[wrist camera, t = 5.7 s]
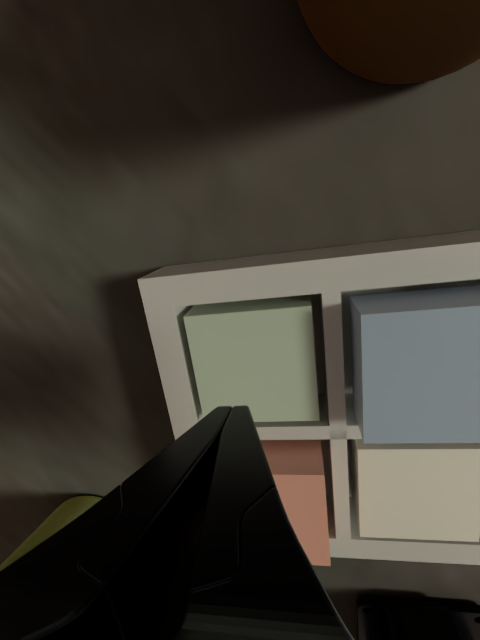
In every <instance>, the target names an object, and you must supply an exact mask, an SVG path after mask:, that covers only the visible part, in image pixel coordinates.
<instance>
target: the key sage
mask: <svg viewBox="0 0 480 640" xmlns="http://www.w3.org/2000/svg"><path fill="white" fill-rule="evenodd" d="M183 319H184V324H185V329H186V334H187V339H188V344H189V349H190V354H191V359H192V364H193V369H194V374H195V379H196V384H197V389H198V394H199V399H200V404H201V409H202V414H203V418H204V417H205V416H206V415H207V414H209V413H210V412H211V411H212V410H214V409H215V408H216V407H218V406H232V407H234V406H243V405H247V406H248V407H249V409H250V412H251V415H252V418H253V420H254V422H283V421H320V419H319V404H318V390H317V376H316V362H315V347H314V333H313V319H312V305H311V300H310V295H299V296H288V297H277V298H266V299H255V300H244V301H233V302H222V303H211V304H200V305H194V306H193V307H192V308H191V309H190V310H189V311H188V312H187V313H186V314H185V315H184V317H183Z"/></svg>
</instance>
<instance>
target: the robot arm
mask: <svg viewBox="0 0 480 640" xmlns="http://www.w3.org/2000/svg"><path fill="white" fill-rule="evenodd" d="M357 628H358V640H480V605H473V604H459V603H446V602H433V601H420V600H406V599H393V598H380V597H367V596H365V597H360V598H358V599H357ZM0 640H354V638H353V637H352V635H351V634H350V632H349V631H348V629H347V628H346V626H345V624H344V623H343V621H342V619H341V618H340V616H339V614H338V612H337V611H336V609H335V607H334V605H333V603H332V602H331V600H330V598H329V596H328V594H327V592H326V590H325V589H324V587H323V585H322V583H321V581H320V579H319V577H318V576H317V574H316V572H315V570H314V568H313V566H312V564H311V562H310V561H309V559H308V557H307V555H306V553H305V551H304V549H303V548H302V546H301V544H300V542H299V540H298V538H297V536H296V534H295V532H294V529H293V527H292V525H291V523H290V521H289V519H288V516H287V514H286V511H285V509H284V506H283V504H282V501H281V498H280V495H279V492H278V489H277V488H276V484H275V481H274V478H273V475H272V473H271V470H270V467H269V464H268V461H267V458H266V455H265V452H264V449H263V446H262V444H261V441H260V438H259V435H258V432H257V429H256V426H255V423H254V420H253V418H252V415H251V412H250V409H249V407H248V406H247V405H243V406H234V407H232V406H218V407H216V408H215V409H214V410H212V411H211V412H210V413H209V414H207V415H206V416H205V417H204V418H202V419H201V420H200V421H199V422H197V423H196V424H195V425H194V426H192V427H191V428H190V429H189V430H187V431H186V432H185V433H184V434H182V435H181V436H180V437H179V438H177V439H176V440H175V441H174V442H172V443H171V444H170V445H169V446H167V447H166V448H165V449H164V450H162V451H161V452H160V453H159V454H157V455H156V456H155V457H154V458H152V459H151V460H150V461H149V462H147V463H146V464H145V465H144V466H142V467H141V468H140V469H139V470H137V471H136V472H135V473H134V474H132V475H131V476H130V477H129V478H127V479H126V480H125V481H124V482H122V486H121V485H118V486H117V487H116V488H115V489H113V490H112V491H111V492H110V493H108V494H107V495H106V496H105V497H103V498H102V499H101V500H99V501H98V502H97V503H96V504H94V505H93V506H92V507H90V508H89V509H88V510H86V511H85V512H84V513H82V514H81V515H80V516H78V517H77V518H75V519H74V520H73V521H71V522H70V523H69V524H67V525H66V526H64V527H63V528H62V529H60V530H59V531H57V532H56V533H54V534H53V535H52V536H50V537H49V538H47V539H46V540H44V541H43V542H41V543H40V544H39V545H37V546H36V547H34V548H33V549H31V550H30V551H28V552H27V553H26V554H24V555H23V556H21V557H20V558H18V559H17V560H15V561H14V562H13V563H11V564H10V565H8V566H7V567H5V568H4V569H2V570H1V571H0Z"/></svg>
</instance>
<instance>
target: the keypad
mask: <svg viewBox="0 0 480 640" xmlns="http://www.w3.org/2000/svg"><path fill="white" fill-rule="evenodd" d="M137 280H138V285H139V289H140V293H141V297H142V302H143V306H144V310H145V314H146V319H147V323H148V327H149V331H150V335H151V340H152V344H153V348H154V352H155V357H156V361H157V365H158V369H159V374H160V378H161V382H162V386H163V390H164V395H165V399H166V403H167V407H168V412H169V416H170V420H171V424H172V429H173V433H174V437H175V440H176V439H177V438H179V437H180V436H181V435H182V434H184V433H185V432H186V431H187V430H189V429H190V428H191V427H192V426H194V425H195V424H196V423H197V422H199V421H200V420H201V419H202V418H203V414H202V409H201V404H200V399H199V394H198V389H197V384H196V379H195V374H194V369H193V364H192V359H191V354H190V349H189V344H188V339H187V334H186V329H185V324H184V319H183V317H184V315H185V314H186V313H187V312H188V311H189V310H190V309H191V308H192V307H193V306H194V305H200V304H211V303H222V302H233V301H244V300H255V299H266V298H277V297H288V296H299V295H310V300H311V305H312V319H313V333H314V347H315V362H316V376H317V390H318V404H319V419H320V421H283V422H254V423H255V426H256V429H257V432H258V435H259V438H260V440H321V448H322V457H323V466H324V475H325V489H326V504H327V518H328V533H329V547H330V557H341V558H360V559H378V560H396V561H414V562H432V563H451V564H469V565H480V538H479V542H466V541H443V540H420V539H397V538H374V537H360V534H359V529H358V524H357V519H356V514H355V509H354V504H353V499H352V480H351V453H350V439H362V436H361V433H360V429H359V426H358V422H357V419H356V416H355V412H354V409H353V384H352V353H351V322H350V296H359V295H370V294H381V293H393V292H404V291H416V290H427V289H438V288H450V287H461V286H473V285H480V230H473V231H464V232H455V233H447V234H438V235H430V236H421V237H412V238H404V239H395V240H386V241H378V242H369V243H361V244H352V245H343V246H335V247H326V248H317V249H309V250H300V251H292V252H283V253H274V254H266V255H257V256H248V257H240V258H231V259H223V260H214V261H205V262H197V263H188V264H179V265H171V266H164V267H162V268H160V269H158V270H156V271H154V272H152V273H150V274H148V275H145V276H143V277H141V278H139V279H137Z"/></svg>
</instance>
